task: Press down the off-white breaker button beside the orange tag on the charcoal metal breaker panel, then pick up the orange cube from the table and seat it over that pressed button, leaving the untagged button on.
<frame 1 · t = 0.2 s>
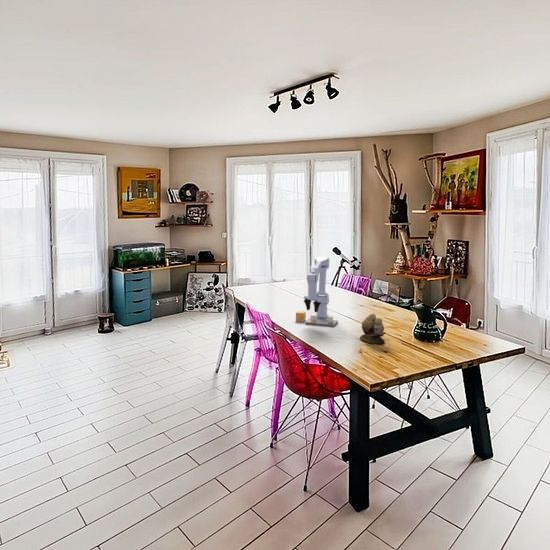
hand: (312, 310, 296), 10 cm above the table, fingers open, 7 cm apart
stacked stone sculpture: (372, 341, 261), on the table
orange cube: (300, 320, 309), on the table
tagged breaker: (313, 318, 303), point 3 cm above the table, slide at 0.0 cm
breaker panel: (321, 323, 301), on the table
untagged breaker: (330, 319, 299), point 3 cm above the table, slide at 0.0 cm
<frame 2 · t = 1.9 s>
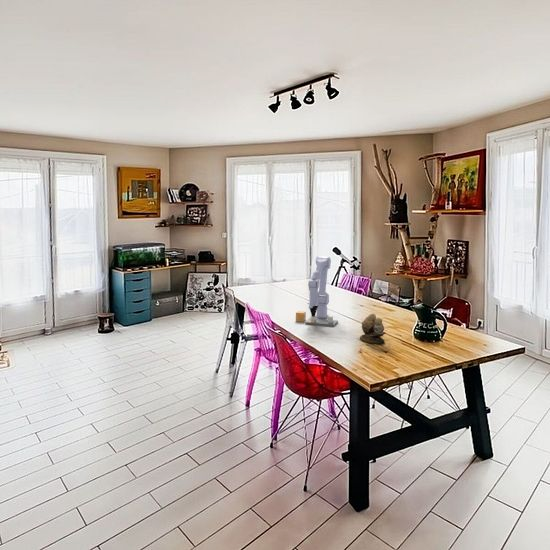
hand: (313, 316, 303), 5 cm above the table, fingers closed, pressing on tagged breaker
tagged breaker: (313, 319, 303), point 2 cm above the table, slide at 0.9 cm, touching gripper
everything else where it was.
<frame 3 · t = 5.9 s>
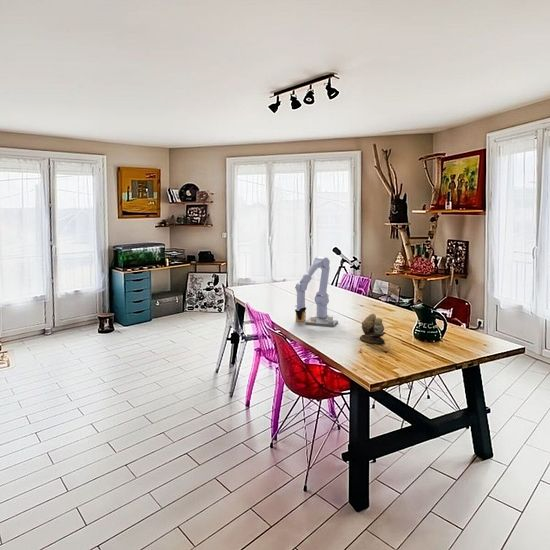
hand: (300, 318, 309), 1 cm above the table, fingers closed on orange cube, 6 cm apart
orange cube: (300, 320, 309), on the table, touching gripper
tagged breaker: (313, 319, 303), point 2 cm above the table, slide at 1.0 cm
everything else where it was.
when the fingers open (4 cm above the table, at t = 9.8 s): orange cube stays where it is, resting on breaker panel.
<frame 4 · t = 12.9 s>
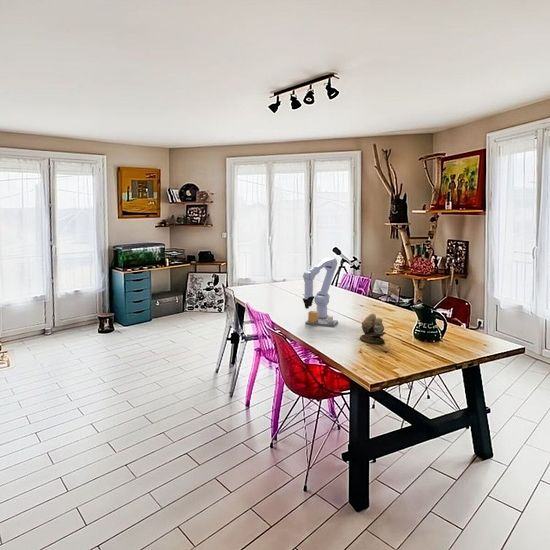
hand: (308, 307, 308), 9 cm above the table, fingers open, 7 cm apart
orange cube: (313, 320, 303), point 2 cm above the table, touching breaker panel
everything else where it was.
at the end: tagged breaker slide at 1.0 cm; orange cube 0.1 cm from the target spot, point 1.6 cm above the table; untagged breaker slide at 0.0 cm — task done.
